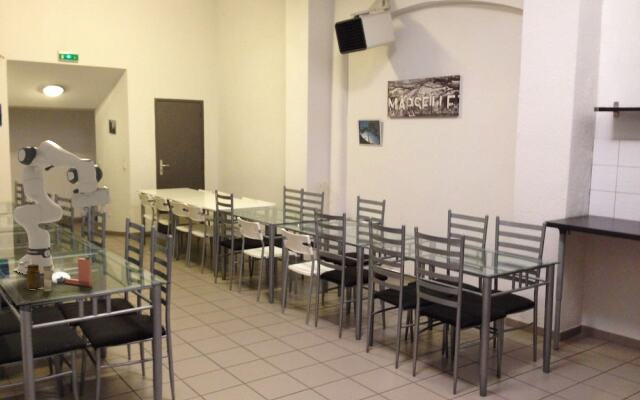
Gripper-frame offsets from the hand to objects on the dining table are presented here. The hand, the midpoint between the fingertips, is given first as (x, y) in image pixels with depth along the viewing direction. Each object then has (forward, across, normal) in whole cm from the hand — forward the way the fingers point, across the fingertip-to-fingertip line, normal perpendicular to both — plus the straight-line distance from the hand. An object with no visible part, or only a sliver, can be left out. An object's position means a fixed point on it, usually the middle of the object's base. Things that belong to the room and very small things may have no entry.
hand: (93, 214), depth 306 cm
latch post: (+35, +21, +17) cm, 44 cm away
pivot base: (+34, +22, +1) cm, 40 cm away
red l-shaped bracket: (+36, +11, +4) cm, 38 cm away
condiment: (+34, +30, +14) cm, 47 cm away
